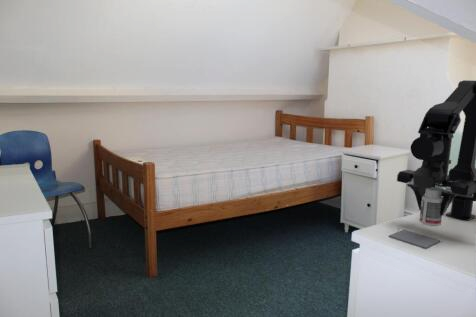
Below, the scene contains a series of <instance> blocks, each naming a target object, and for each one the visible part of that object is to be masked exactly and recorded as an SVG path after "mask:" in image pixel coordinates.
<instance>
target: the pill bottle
mask: <svg viewBox="0 0 476 317" xmlns="http://www.w3.org/2000/svg"><path fill="white" fill-rule="evenodd" d="M442 192H443V189H442V188H440V187H436V186H433V187H431V188H426V191H425V195H423V196H422V201H421V210H419V211H420V212H419V219H418V221H419V222H420V224H422V225H425V226H428V227H429V226H430V227H439V226H441V224H442V217H443V216H441V215H440V211H441V205H442V200H443V196H442Z"/></svg>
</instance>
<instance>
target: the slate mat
mask: <svg viewBox="0 0 476 317" xmlns="http://www.w3.org/2000/svg"><path fill="white" fill-rule="evenodd" d="M388 238H391V239H393V240H397V241H399V242H403V243H407V244H410V245H412V246H416V247H419V248H421V249H425V250H427V249H429V248H431V247H433V246H435V245H438V244H439V243H441V241H442V240H441V239H438V238H434V237H432V236H428V235H424V234H421V233H418V232H415V231H411V230H407V229H406V228H405V229H402V230H401V229H400V230H399V231H397V232H394V233H392V234H389V235H388Z"/></svg>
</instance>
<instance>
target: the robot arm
mask: <svg viewBox="0 0 476 317" xmlns="http://www.w3.org/2000/svg"><path fill="white" fill-rule="evenodd" d="M462 112H463V114H464V116H465V117H464V122H463V128H462V134H461V141H460V145H459V150H458V151H459V152H458V157H457V162H456V164H455V165H454V167H453V168H450V170H449V166H450V165H451V164H452V160H451V159H450V158H451V148H452V140H453V138H454V134H455V133H456V131H457V129H458V127H459V125H460V124H461V121H462V119H461V116H460V114H461V113H462ZM417 133H418V134H419V136H418V137H417V138H415V139H414V140H413V141H412V143H411V144H410V154H412V156H413V157H414V158H416V159H417V160H420V161H422V163H421V166H420V167H417V169H416V170H412V169H405V170H400V171H398V173H397V175H396V182H399V183H403V184H406V186H407V187H409V188H410V189H411V190H412V191H413V193H414V197H415V198H416V203H417V206H418V210H419V211H420V210H421V201H422V196H423V195H426V193H425V191H426V188H431V187H434V186H435V187H436V186H438V187H442V188H445V190H444V191H442V194H441V196H442V198H443V200H442V205H441V211H440V215H441V216H442V217H443V216H444V215H445V216H447V217H451V218H455V219H459V220H464V221H470V220H472V219H474V218H476V214H472V213H473V208H474V207H473V206H474V202H476V167H475V165H476V80H467V79H466V80H462V81H459V82H458V85H457V87H456V88H455V89H454V90H453V92H452V93H451V94H450V95H449V96H448V97H447V98H446V99H445V100H444V101H442V102H441V103H436V104H434V105H432V106H431V107H430V108H429V109H428V110H427V112H426V113H425V115H424V116H423V119H422V121H421V124H420V126H419V128H418V131H417ZM450 206H451V207H450ZM449 207H450V211H449V212H447V210H448V208H449ZM446 212H447V213H446Z"/></svg>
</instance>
